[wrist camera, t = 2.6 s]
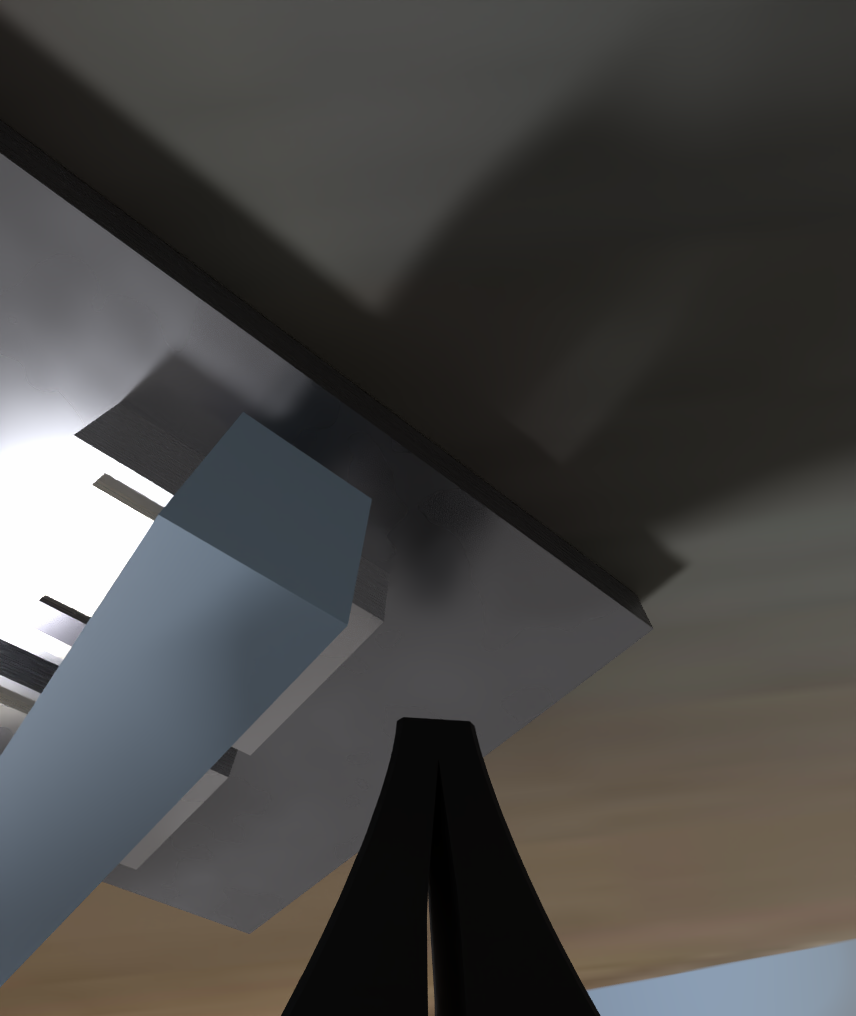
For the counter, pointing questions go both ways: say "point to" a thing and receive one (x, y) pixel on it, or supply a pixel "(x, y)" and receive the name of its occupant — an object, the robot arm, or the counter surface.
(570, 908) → the counter surface
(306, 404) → the chassis
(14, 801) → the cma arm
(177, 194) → the counter surface
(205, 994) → the counter surface
